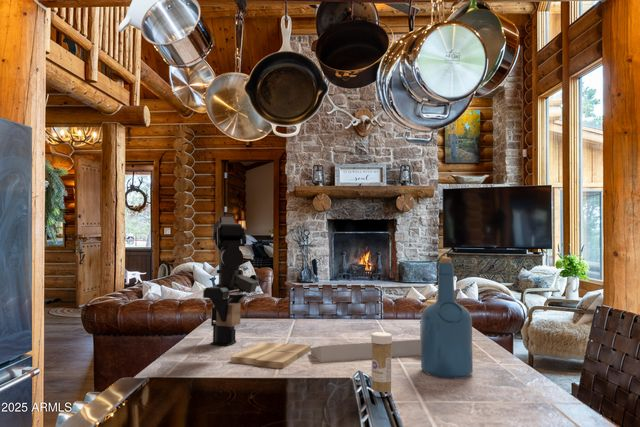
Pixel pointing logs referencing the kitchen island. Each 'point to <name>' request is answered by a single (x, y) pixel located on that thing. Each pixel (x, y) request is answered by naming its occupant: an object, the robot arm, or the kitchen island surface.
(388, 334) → the sprinkles bottle
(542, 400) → the kitchen island surface
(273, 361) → the laid row
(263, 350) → the plank
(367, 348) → the decorative molding
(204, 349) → the kitchen island surface
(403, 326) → the kitchen island surface
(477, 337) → the kitchen island surface
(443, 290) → the wine bottle
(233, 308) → the block
